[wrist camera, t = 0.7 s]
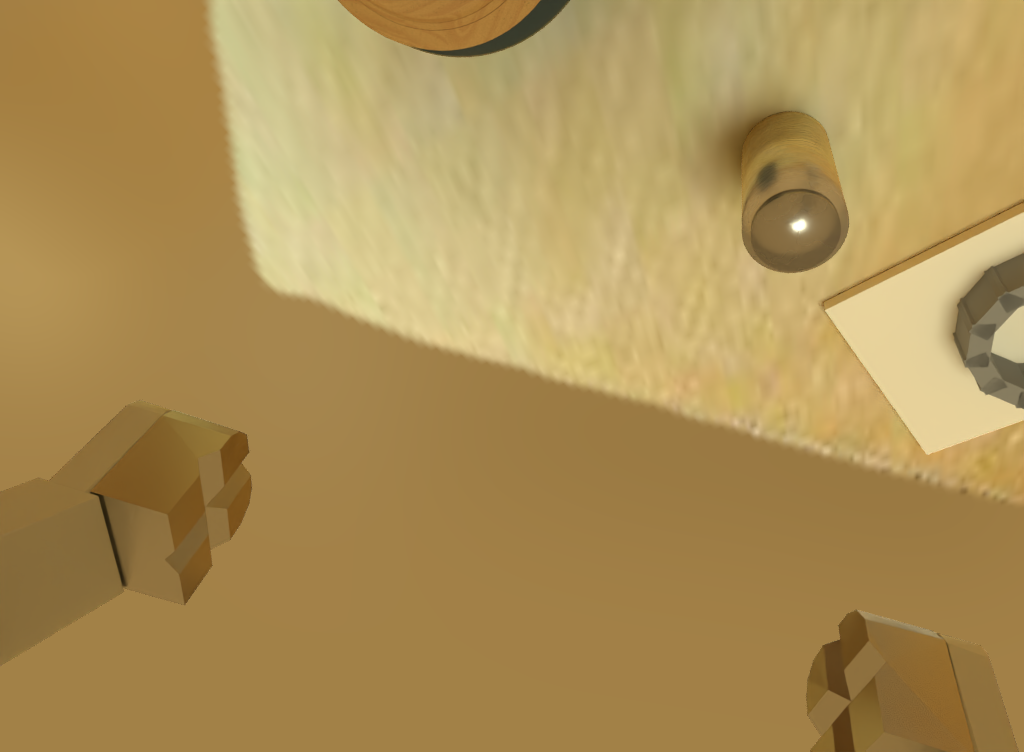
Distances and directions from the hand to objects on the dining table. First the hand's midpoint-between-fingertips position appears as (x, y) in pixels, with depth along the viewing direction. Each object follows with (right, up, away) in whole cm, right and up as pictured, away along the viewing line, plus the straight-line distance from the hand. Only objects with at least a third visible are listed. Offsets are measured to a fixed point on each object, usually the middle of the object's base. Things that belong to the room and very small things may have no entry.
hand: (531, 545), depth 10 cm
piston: (+16, +15, +34) cm, 40 cm away
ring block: (+32, +6, +36) cm, 48 cm away
